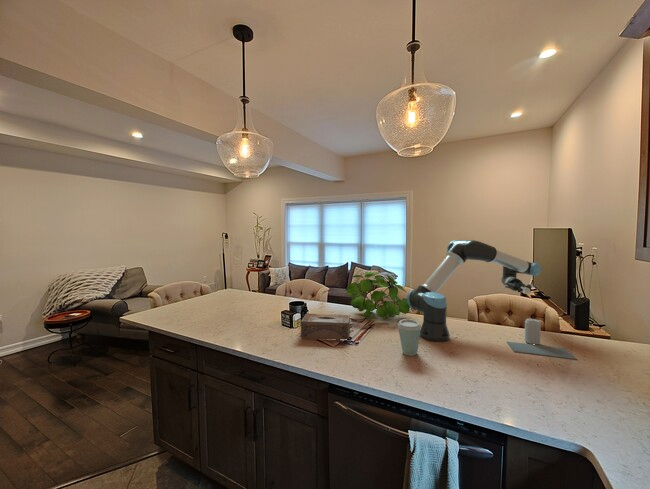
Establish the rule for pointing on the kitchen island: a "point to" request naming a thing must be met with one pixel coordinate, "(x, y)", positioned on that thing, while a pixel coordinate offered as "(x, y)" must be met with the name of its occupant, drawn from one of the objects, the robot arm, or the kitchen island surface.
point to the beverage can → (532, 331)
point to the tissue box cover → (325, 326)
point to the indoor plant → (377, 296)
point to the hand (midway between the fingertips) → (527, 291)
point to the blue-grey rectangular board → (541, 350)
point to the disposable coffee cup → (409, 336)
